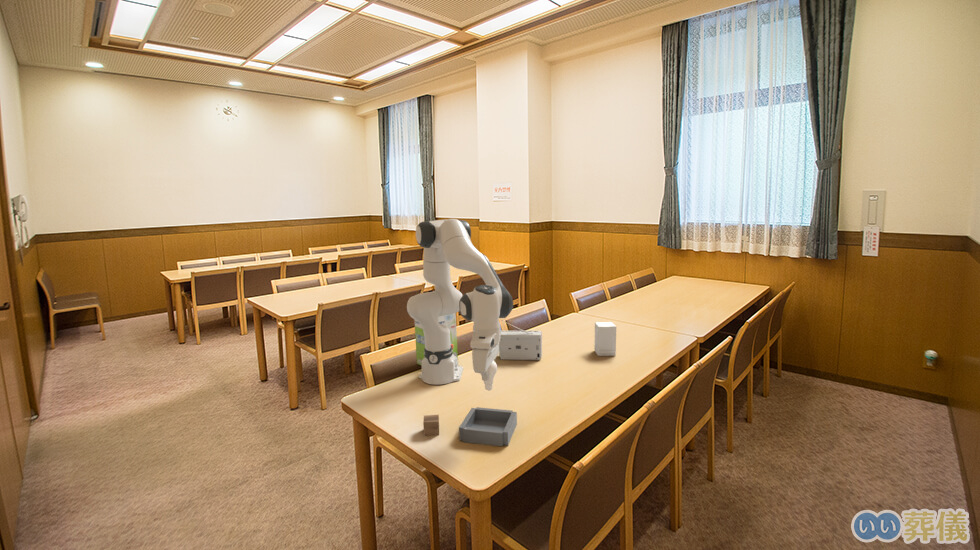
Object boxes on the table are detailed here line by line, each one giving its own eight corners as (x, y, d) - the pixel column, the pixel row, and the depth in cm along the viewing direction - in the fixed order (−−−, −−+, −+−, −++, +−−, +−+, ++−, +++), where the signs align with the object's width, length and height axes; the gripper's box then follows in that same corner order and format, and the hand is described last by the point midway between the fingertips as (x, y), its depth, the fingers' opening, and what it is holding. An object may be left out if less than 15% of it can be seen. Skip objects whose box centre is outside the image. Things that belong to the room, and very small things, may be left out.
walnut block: (424, 429, 160) (423, 415, 159) (439, 428, 160) (438, 414, 160) (424, 436, 155) (423, 422, 154) (439, 435, 155) (438, 421, 155)
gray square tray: (472, 418, 167) (472, 406, 166) (517, 423, 163) (517, 411, 162) (458, 441, 151) (458, 428, 150) (507, 447, 147) (507, 433, 146)
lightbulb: (501, 389, 155) (500, 358, 153) (489, 396, 151) (488, 364, 149) (488, 384, 159) (487, 354, 157) (475, 391, 155) (474, 360, 153)
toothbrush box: (428, 369, 214) (425, 318, 211) (416, 364, 222) (413, 315, 219) (458, 360, 226) (456, 311, 222) (446, 355, 234) (443, 308, 230)
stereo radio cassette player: (541, 355, 231) (541, 316, 228) (542, 361, 223) (541, 320, 220) (499, 355, 233) (499, 316, 230) (498, 360, 225) (497, 320, 222)
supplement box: (616, 356, 228) (616, 326, 226) (597, 356, 228) (598, 326, 226) (611, 350, 237) (612, 321, 235) (594, 350, 237) (594, 321, 235)
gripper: (485, 326, 162) (486, 364, 164) (468, 344, 143) (469, 387, 145) (503, 327, 161) (503, 365, 163) (488, 345, 141) (489, 389, 143)
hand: (487, 376), depth 154 cm, fingers closed on lightbulb, 5 cm apart
